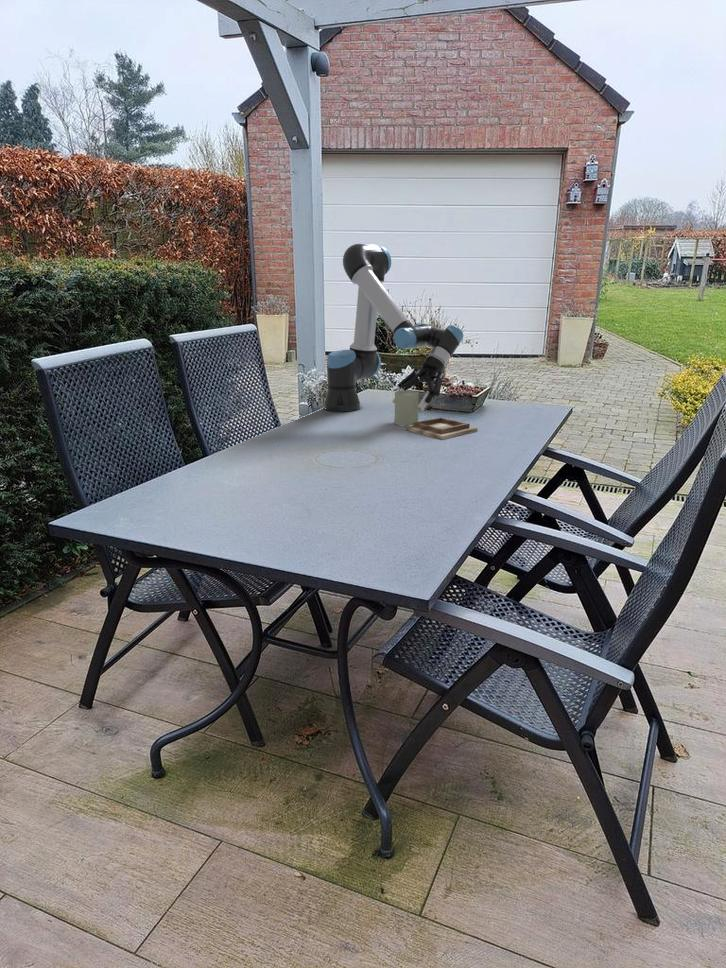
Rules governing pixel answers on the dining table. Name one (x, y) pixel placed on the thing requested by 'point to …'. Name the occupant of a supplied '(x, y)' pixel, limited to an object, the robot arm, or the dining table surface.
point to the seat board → (441, 428)
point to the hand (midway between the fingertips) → (407, 406)
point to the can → (406, 407)
